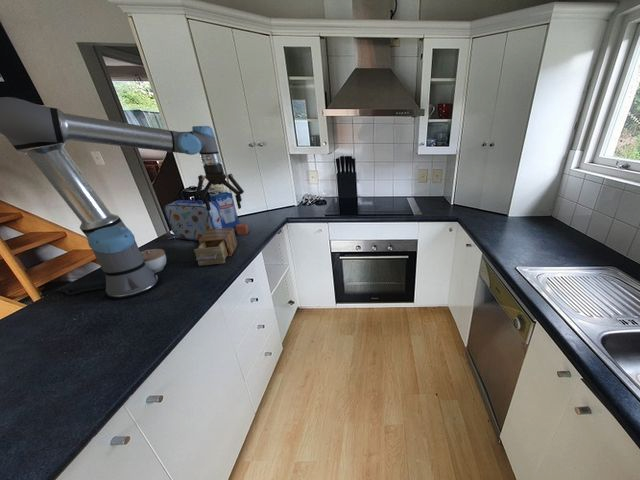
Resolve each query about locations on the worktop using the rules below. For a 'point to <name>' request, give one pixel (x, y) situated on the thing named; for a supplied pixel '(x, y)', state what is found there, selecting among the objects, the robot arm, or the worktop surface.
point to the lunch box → (192, 218)
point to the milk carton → (226, 208)
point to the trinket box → (154, 259)
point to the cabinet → (221, 237)
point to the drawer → (211, 252)
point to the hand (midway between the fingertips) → (224, 209)
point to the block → (242, 229)
